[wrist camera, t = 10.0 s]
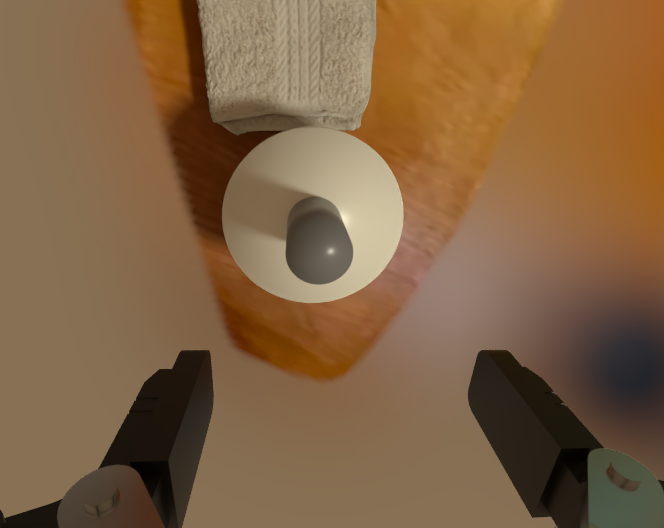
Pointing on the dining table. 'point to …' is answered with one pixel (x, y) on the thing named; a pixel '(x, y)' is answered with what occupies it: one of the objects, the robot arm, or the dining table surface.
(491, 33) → the dining table surface
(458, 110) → the dining table surface
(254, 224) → the lid
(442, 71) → the dining table surface
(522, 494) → the robot arm
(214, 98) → the washcloth
